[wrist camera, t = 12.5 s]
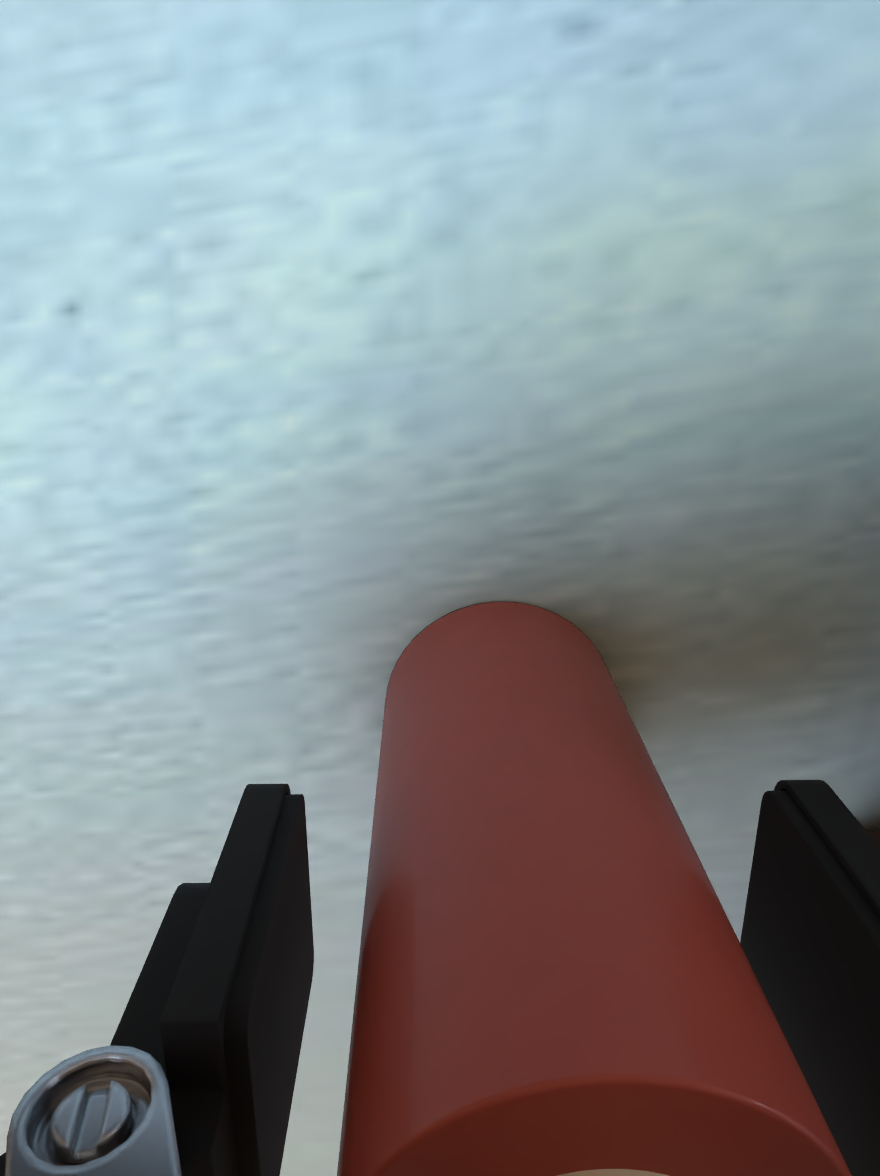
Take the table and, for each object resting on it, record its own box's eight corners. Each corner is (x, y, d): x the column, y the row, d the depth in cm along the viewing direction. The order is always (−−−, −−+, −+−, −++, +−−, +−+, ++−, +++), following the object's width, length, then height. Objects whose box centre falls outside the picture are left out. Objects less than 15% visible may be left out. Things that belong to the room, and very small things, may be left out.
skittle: (431, 568, 15) (449, 1961, 3) (649, 644, 16) (1572, 2096, 3) (355, 767, 17) (120, 2324, 4) (559, 829, 17) (943, 2375, 4)
